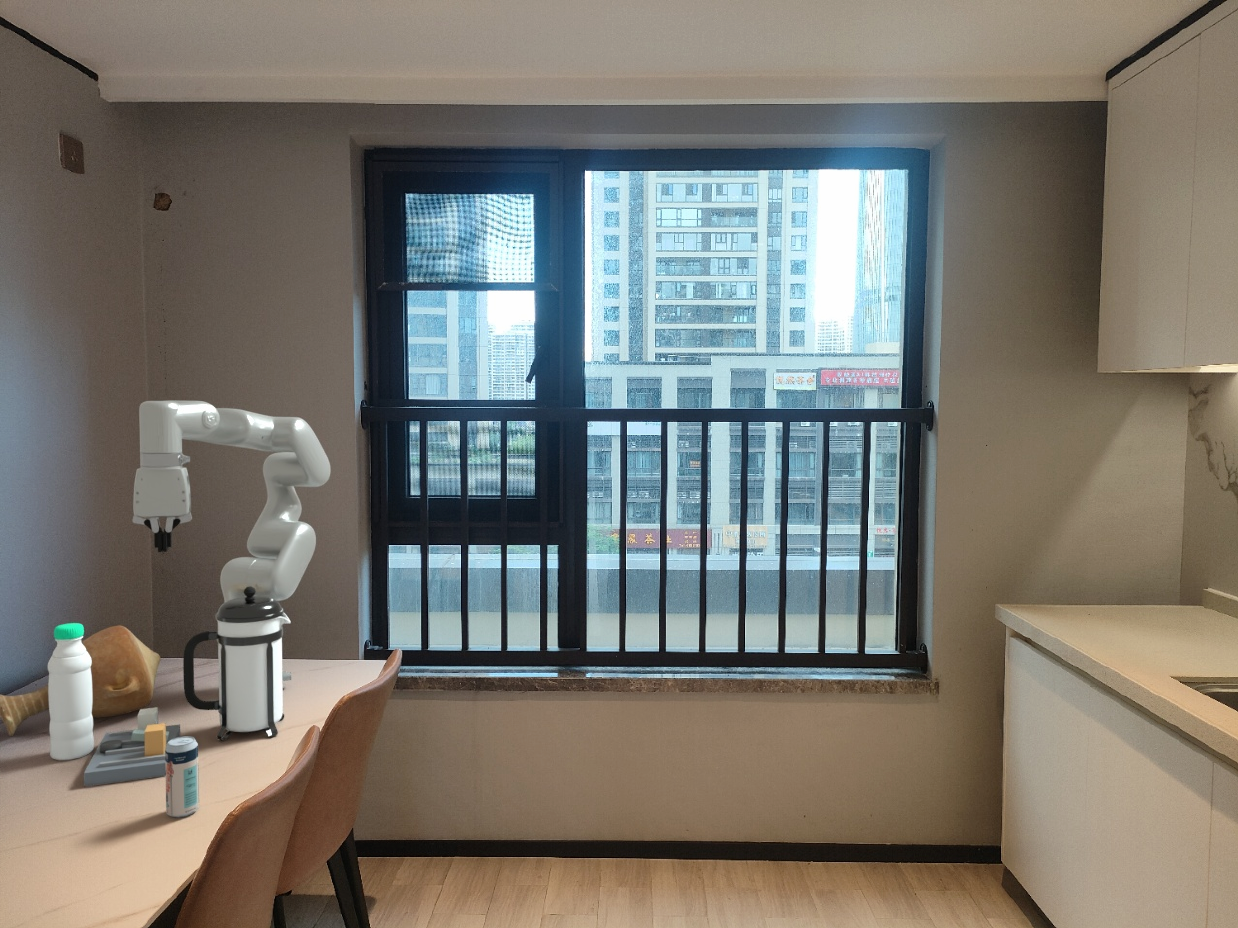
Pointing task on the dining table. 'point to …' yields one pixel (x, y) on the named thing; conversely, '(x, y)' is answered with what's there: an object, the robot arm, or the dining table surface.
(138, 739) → the block
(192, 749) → the beer can
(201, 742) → the dining table surface
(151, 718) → the ivory fader
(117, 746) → the panel
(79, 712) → the water bottle
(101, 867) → the dining table surface
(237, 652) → the coffee press
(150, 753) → the orange fader
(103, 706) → the jug
